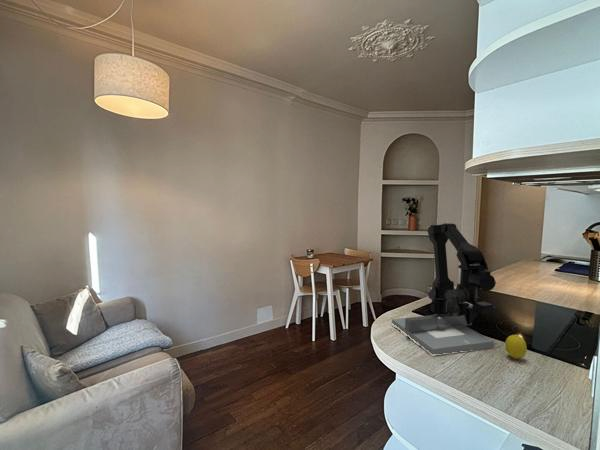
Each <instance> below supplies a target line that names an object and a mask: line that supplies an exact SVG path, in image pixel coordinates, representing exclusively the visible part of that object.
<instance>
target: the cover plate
mask: <svg viewBox="0 0 600 450" xmlns="http://www.w3.org/2000/svg"><path fill="white" fill-rule="evenodd" d="M432 315H433V314H432ZM432 315H430V316H432ZM441 315H443V314H441ZM422 316H423V315H422ZM422 316H420V317H422ZM412 317H413V316H412ZM412 317H409V318H412ZM405 318H406V317H403V318H401V317H400V318H392V319H391V324H392V323H393V324H394V325H396V326H397V327H399V328H400V329H401V330H402V331H404V332H405V333H406V334H407V335H409V336H410V337H411V338H412V339H414V340H415V341H416V342H418V343H419V344H420V345H421V346H423V347H424V348H425V349H426V350H428V351H429V352H430V353H432V354H443V353H452V352H460V351H470V350H477V351H482V350H481V349H484V350H492V349H494V340H492V339H490V338H488V337H487V336H484V335H483V334H481V333H479V332H478V331H476V330H474V329H472V328H470V327H468V326H467V325H465V326H456V327H447V328H445V329H429V330H420V331H411V332H408V331H407V330H406V329H405ZM470 352H471V351H470Z"/></svg>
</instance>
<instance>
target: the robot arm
mask: <svg viewBox="0 0 600 450" xmlns="http://www.w3.org/2000/svg"><path fill="white" fill-rule="evenodd" d="M427 234H428V238H429V241H430V242H431V244H433V254H434V255H433V256H434V266H435V267H434V268H435V278H434V280H433V281H432V288H431V289H430V290H429V291H428V293H427V295H428V298H429V299H430V300H431V301H430V309H431V311H432V312H433V313H432V312H431V313H432V314H434V313H438V314H451V313H450V312H449V303H451V304H452V305H455V306H456V307H457V309H458V313H463V312H467V324H468V325H467V326H470V325H469V324H471V322H472V323H473V321H474V320H475V318H476V317H477V315H478V314H480V315H487V314H495V311H496V307H495V306H494V304H492V303H489V302H486V301H480V297H479V296H478V290H481V291H484V292H490V291H491V290H493V289H494V288H495V287H496V284H497V283H496V281H497V280H496V279H495V277H494V276H493V275H491V271H490V270H489V266H488V264H487V261H486V259H485V256H484V254H483V252H482V250H481V249H479V248H478V247H477V246H475V245H473V244H470V243H469V242H468V241H467V239H466V238H465V237H464V236H463V234H462V233H461V232H460V230H459V229H458V228H457V225H456V224H455V223H451V222H450V223H447V222H446V223H442V224H432V225H430V227H427ZM448 240H449V241H450V243H451V244H452V246H453V247H454V249H455V250H456V258H457V260H458V262H459V263H460V264H459V265H458V266H457V268H458V269H460V278H459V283H457V284H456V288H455V282H454V281H453V280H451V279H450V277H449V270H448V256H447V245H446V244H447V243H448Z"/></svg>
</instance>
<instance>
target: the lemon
mask: <svg viewBox="0 0 600 450" xmlns="http://www.w3.org/2000/svg"><path fill="white" fill-rule="evenodd" d="M527 347H528V346H527V343H526V341H525V339H524V338H523V337H522V336H520V335H519V334H517V333H515V334H512V335H509V336H508V337H506V340H505V344H504V348H505V351H506V353H507V354H508V355H509V356H511V358H512V359H514V360H517V359H520V358H523V357H525V356H526V355H527V354H526V353H527V351H528V350H527V349H528V348H527Z"/></svg>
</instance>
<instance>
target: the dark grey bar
mask: <svg viewBox="0 0 600 450" xmlns="http://www.w3.org/2000/svg"><path fill="white" fill-rule="evenodd" d="M404 318H405V329H406V330H407V331H408V332H411V331H420V330H429V329H445V328H447V327H456V326H472V325H473V321H472V322H471V324H469V325H468V324H467V312H463V313H459V312H453V313H450V314H443V315H441V314H434V313H433V314H432V316H431V315H422V317H421V316H412V318H410V317H404Z"/></svg>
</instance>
